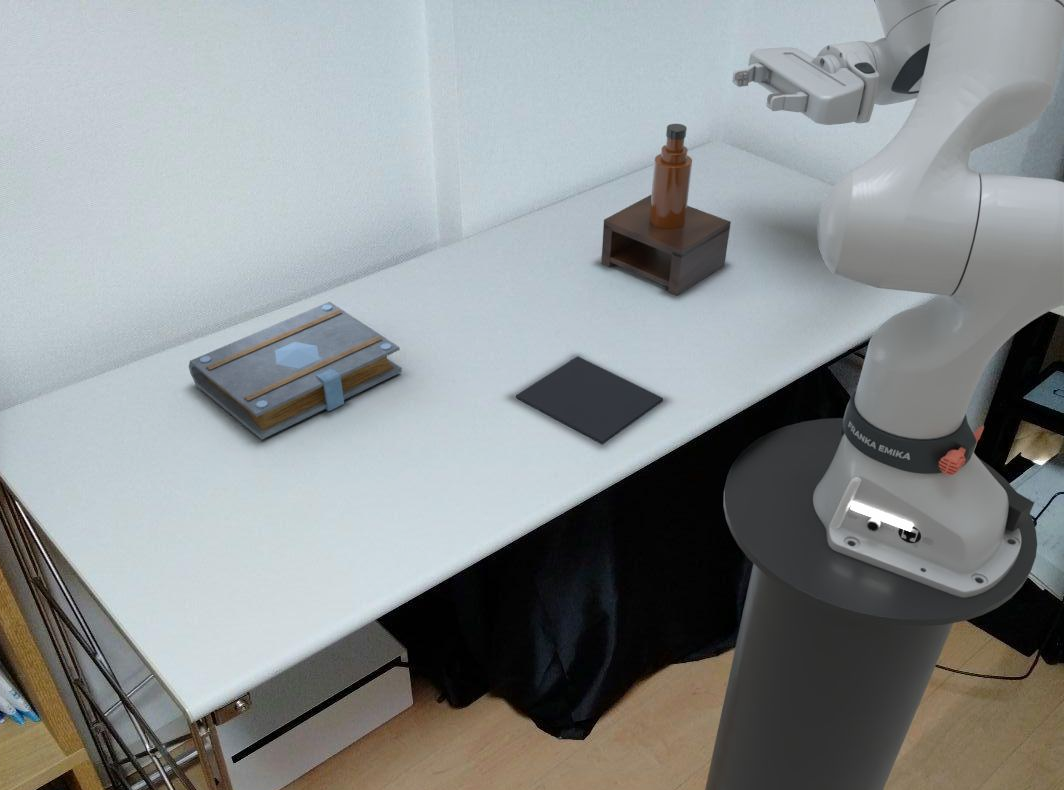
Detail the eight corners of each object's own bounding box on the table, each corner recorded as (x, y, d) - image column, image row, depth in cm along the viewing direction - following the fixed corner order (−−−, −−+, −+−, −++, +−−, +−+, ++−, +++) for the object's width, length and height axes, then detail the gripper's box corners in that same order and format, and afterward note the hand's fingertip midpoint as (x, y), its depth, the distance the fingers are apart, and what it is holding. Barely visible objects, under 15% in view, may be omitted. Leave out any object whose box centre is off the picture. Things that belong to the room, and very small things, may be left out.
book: (329, 325, 142) (325, 293, 139) (403, 375, 133) (400, 342, 130) (193, 385, 132) (184, 351, 128) (264, 444, 123) (256, 409, 120)
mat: (662, 400, 130) (663, 398, 129) (602, 444, 123) (602, 441, 123) (577, 358, 136) (577, 356, 136) (515, 397, 130) (515, 395, 130)
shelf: (724, 265, 155) (731, 221, 150) (676, 295, 148) (682, 250, 143) (649, 235, 162) (653, 192, 157) (601, 263, 155) (603, 219, 150)
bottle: (692, 220, 150) (703, 126, 141) (671, 232, 147) (680, 138, 138) (663, 209, 153) (672, 116, 144) (642, 221, 150) (649, 127, 141)
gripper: (804, 31, 150) (718, 42, 146) (886, 79, 136) (794, 92, 132) (796, 76, 154) (713, 88, 151) (875, 127, 140) (786, 141, 137)
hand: (751, 90), depth 141 cm, fingers open, 8 cm apart
